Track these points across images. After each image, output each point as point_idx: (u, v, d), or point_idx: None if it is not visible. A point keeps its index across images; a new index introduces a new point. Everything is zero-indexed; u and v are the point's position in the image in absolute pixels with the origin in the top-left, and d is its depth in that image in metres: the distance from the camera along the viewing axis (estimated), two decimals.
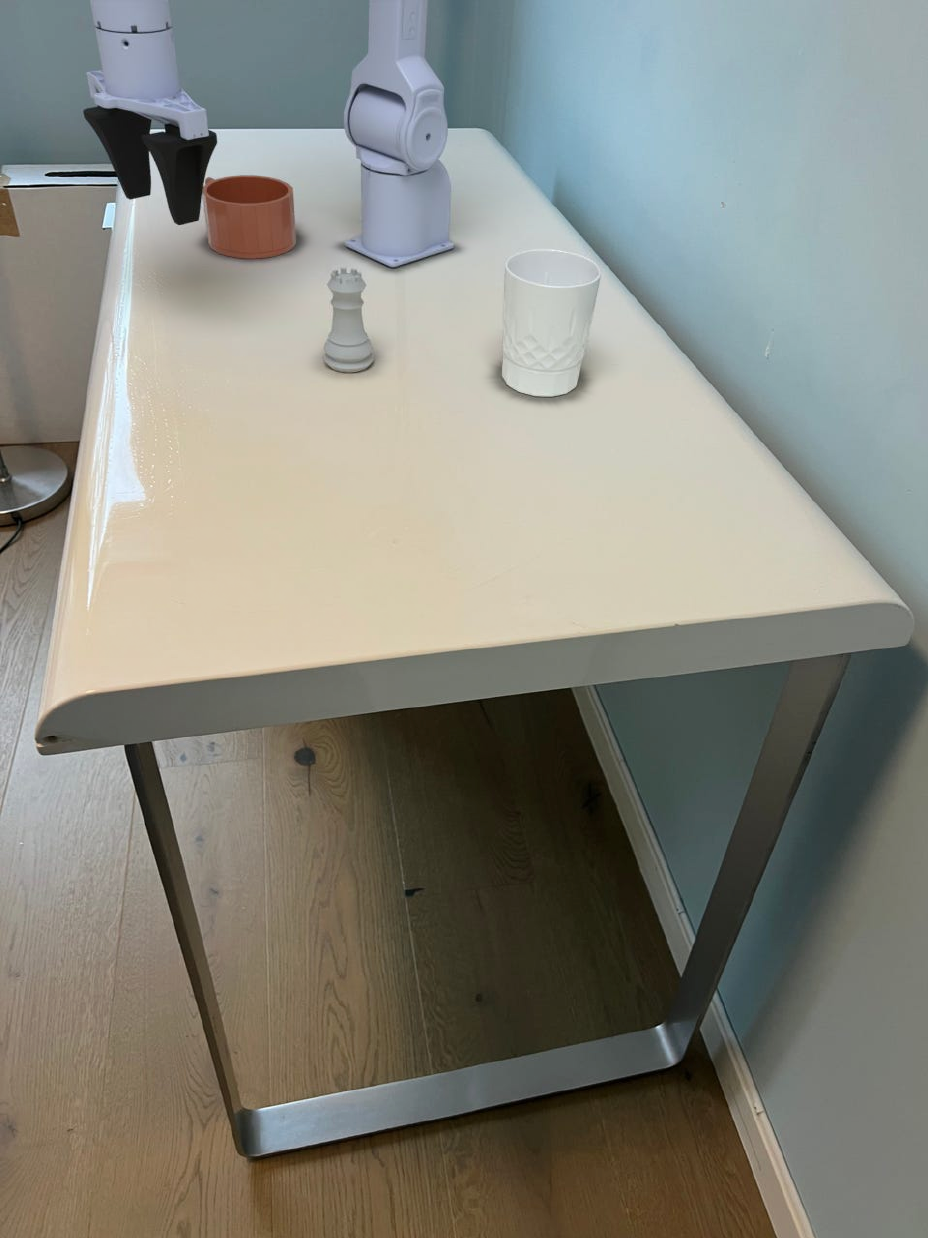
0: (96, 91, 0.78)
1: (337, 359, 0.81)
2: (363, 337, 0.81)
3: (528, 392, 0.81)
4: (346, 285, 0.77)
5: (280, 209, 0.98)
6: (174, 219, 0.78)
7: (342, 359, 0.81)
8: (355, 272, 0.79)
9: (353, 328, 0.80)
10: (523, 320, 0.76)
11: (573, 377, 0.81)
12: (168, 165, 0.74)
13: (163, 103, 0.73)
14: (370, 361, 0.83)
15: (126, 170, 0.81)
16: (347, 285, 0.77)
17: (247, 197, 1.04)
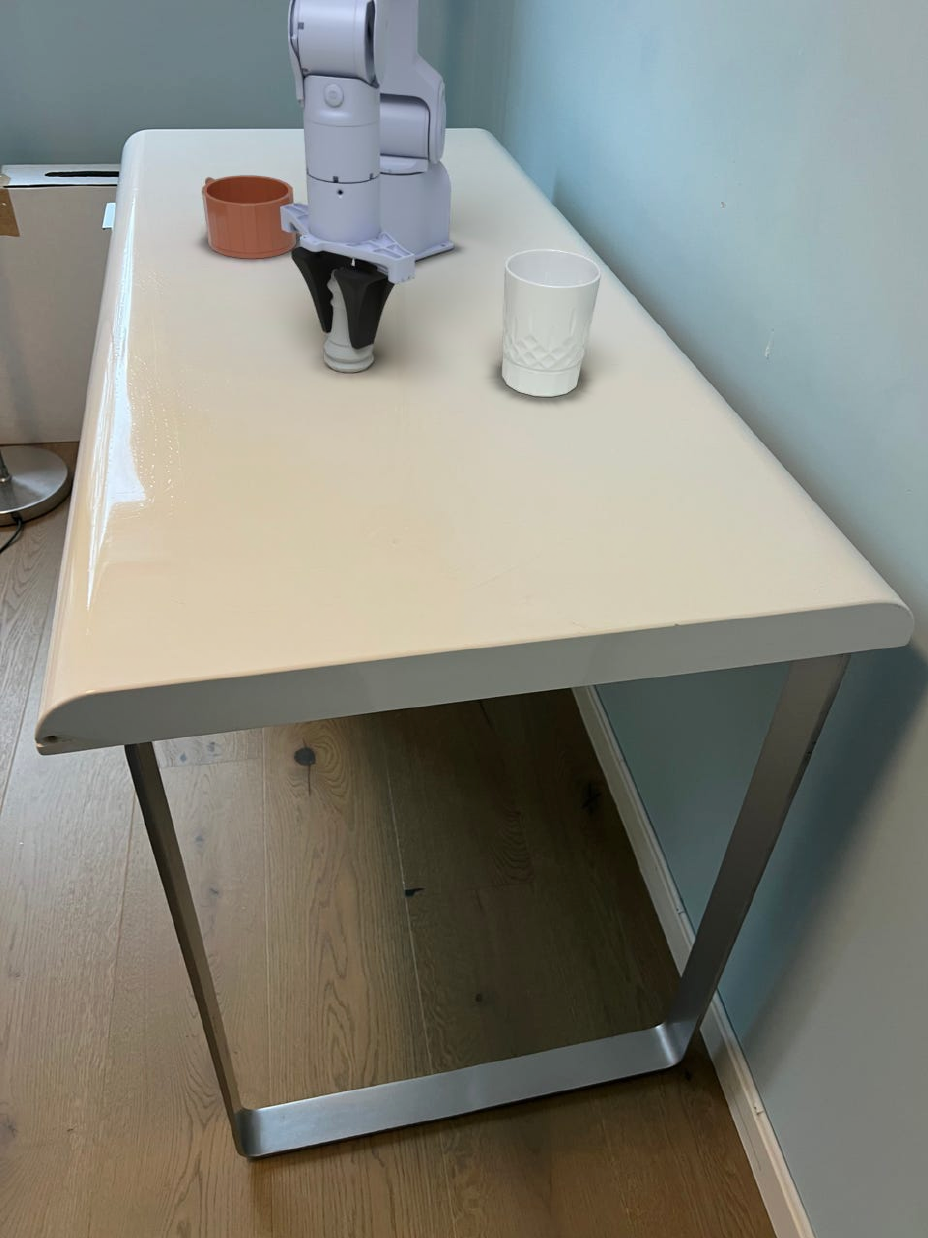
0: (289, 225, 0.79)
1: (337, 359, 0.81)
2: None
3: (528, 392, 0.81)
4: None
5: None
6: (352, 344, 0.80)
7: (342, 359, 0.81)
8: None
9: None
10: (523, 320, 0.76)
11: (573, 377, 0.81)
12: (357, 298, 0.75)
13: (368, 245, 0.74)
14: (370, 361, 0.83)
15: (326, 306, 0.81)
16: None
17: (247, 197, 1.04)
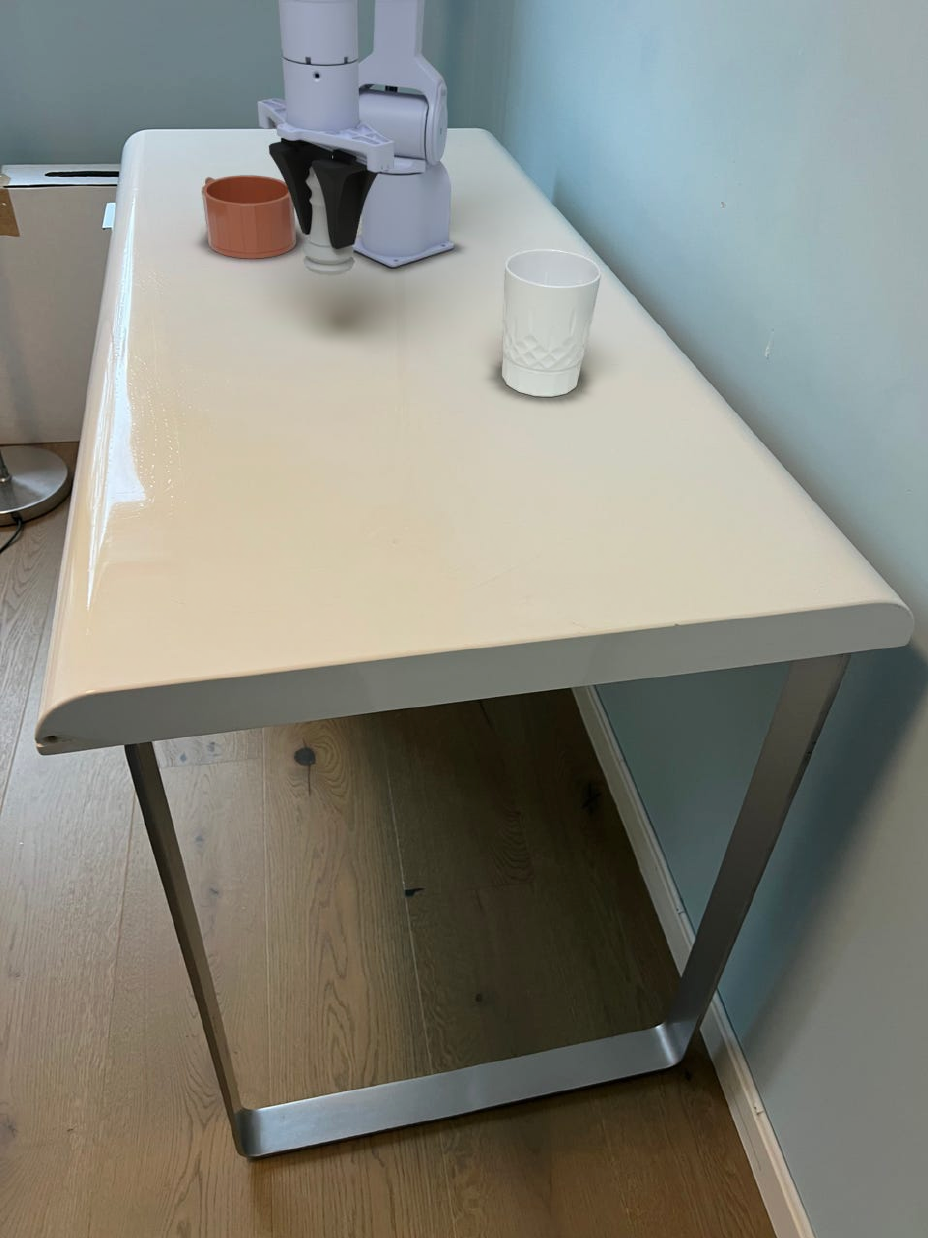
0: (267, 120, 0.77)
1: (317, 261, 0.80)
2: None
3: (528, 392, 0.81)
4: None
5: (280, 209, 0.98)
6: (332, 243, 0.78)
7: (322, 261, 0.79)
8: None
9: None
10: (523, 320, 0.76)
11: (573, 377, 0.81)
12: (336, 191, 0.74)
13: (347, 135, 0.72)
14: (351, 264, 0.81)
15: (306, 205, 0.79)
16: None
17: (247, 197, 1.04)
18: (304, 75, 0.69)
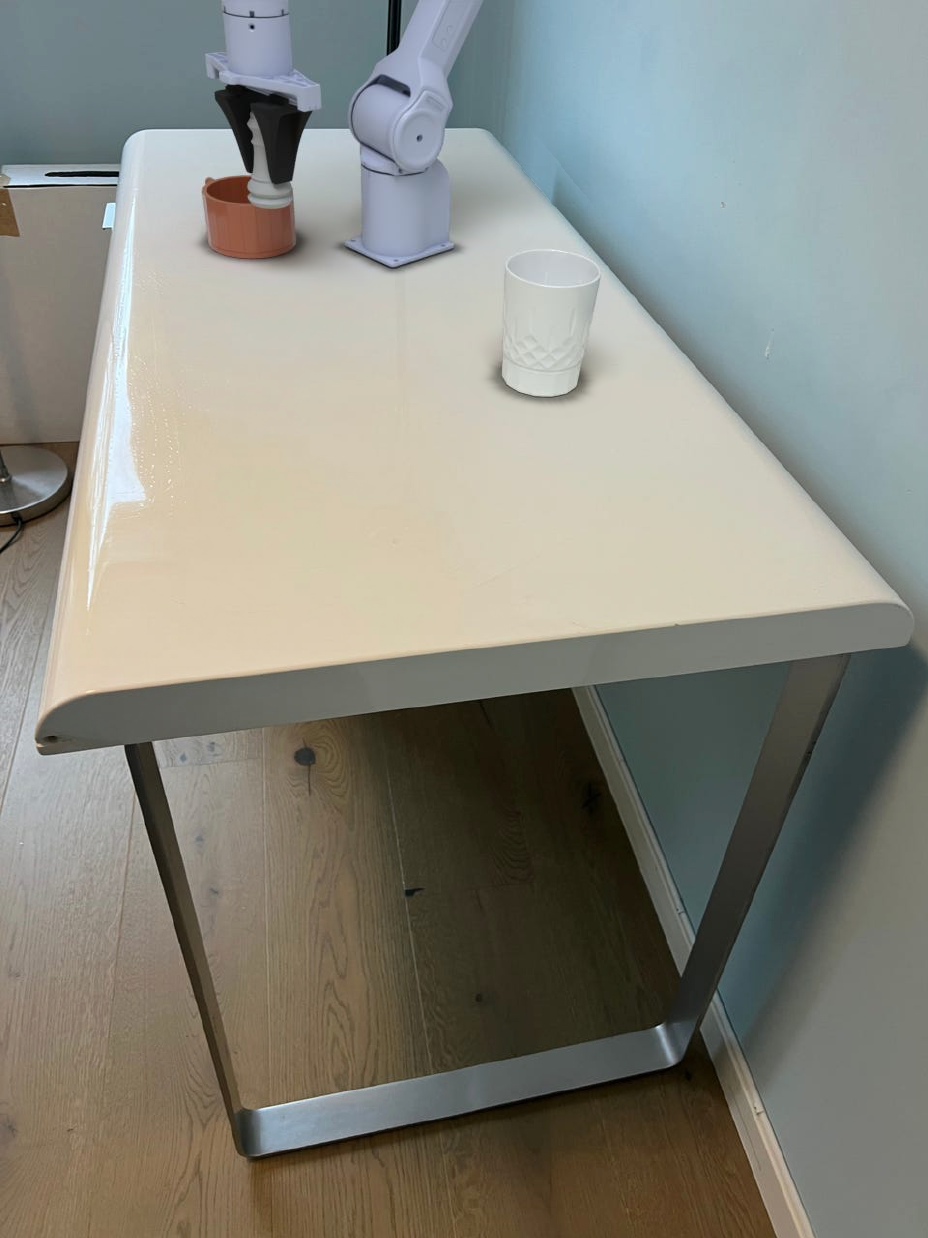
0: (213, 71, 0.88)
1: (259, 195, 0.90)
2: None
3: (528, 392, 0.81)
4: None
5: (280, 209, 0.98)
6: (272, 179, 0.89)
7: (263, 195, 0.90)
8: None
9: None
10: (523, 320, 0.76)
11: (573, 377, 0.81)
12: (272, 130, 0.85)
13: (280, 80, 0.83)
14: (289, 199, 0.92)
15: (249, 146, 0.90)
16: None
17: (247, 197, 1.04)
18: (241, 26, 0.80)
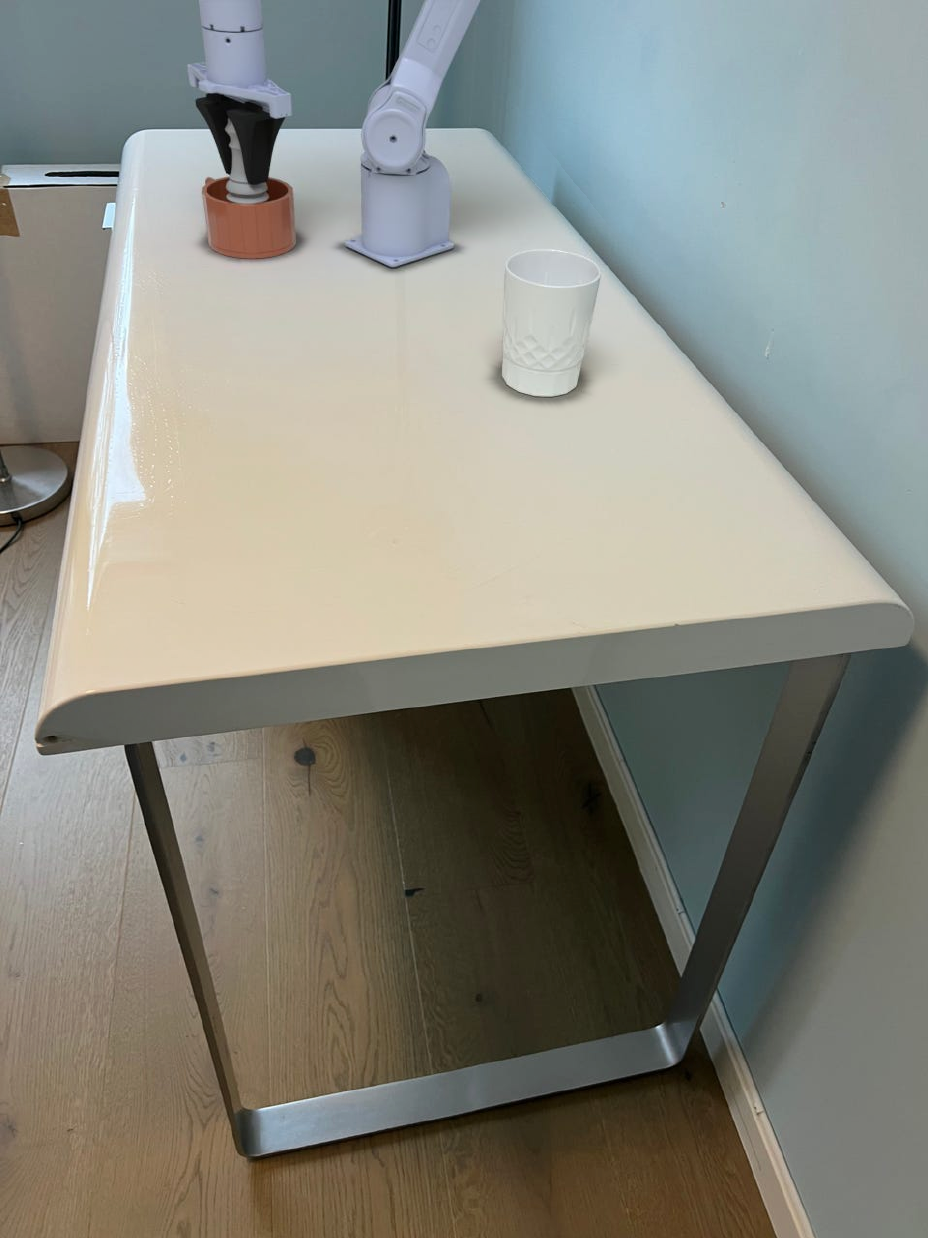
0: (195, 80, 0.96)
1: (236, 195, 0.98)
2: None
3: (528, 392, 0.81)
4: None
5: (280, 209, 0.98)
6: (248, 180, 0.96)
7: (240, 195, 0.98)
8: None
9: None
10: (523, 320, 0.76)
11: (573, 377, 0.81)
12: (247, 135, 0.92)
13: (255, 89, 0.91)
14: (265, 199, 0.99)
15: (227, 150, 0.97)
16: None
17: None
18: (218, 40, 0.88)
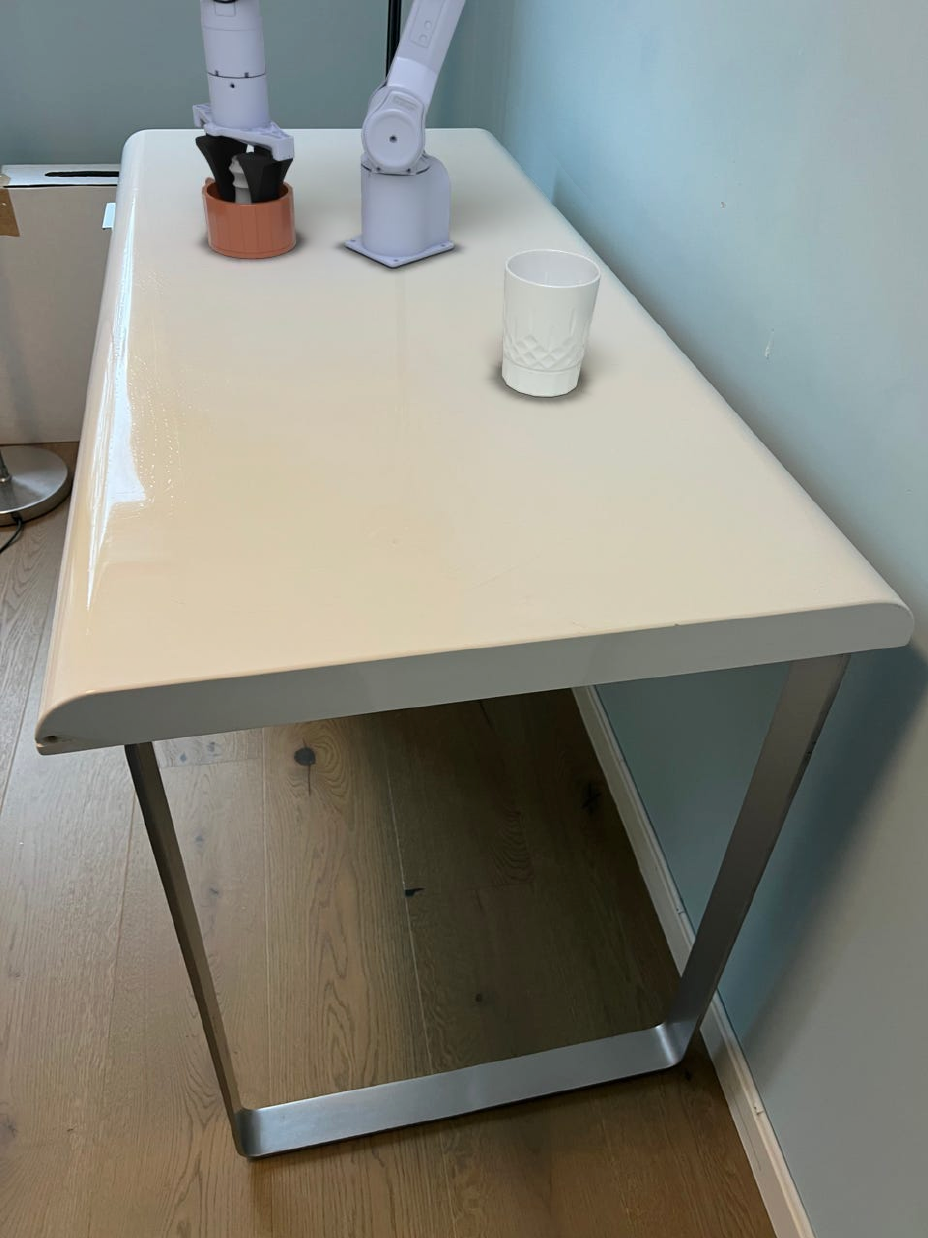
0: (200, 120, 0.98)
1: None
2: None
3: (528, 392, 0.81)
4: None
5: (280, 209, 0.98)
6: None
7: None
8: None
9: None
10: (523, 320, 0.76)
11: (573, 377, 0.81)
12: (256, 178, 0.94)
13: (258, 131, 0.93)
14: None
15: (226, 186, 1.00)
16: None
17: None
18: (222, 85, 0.90)
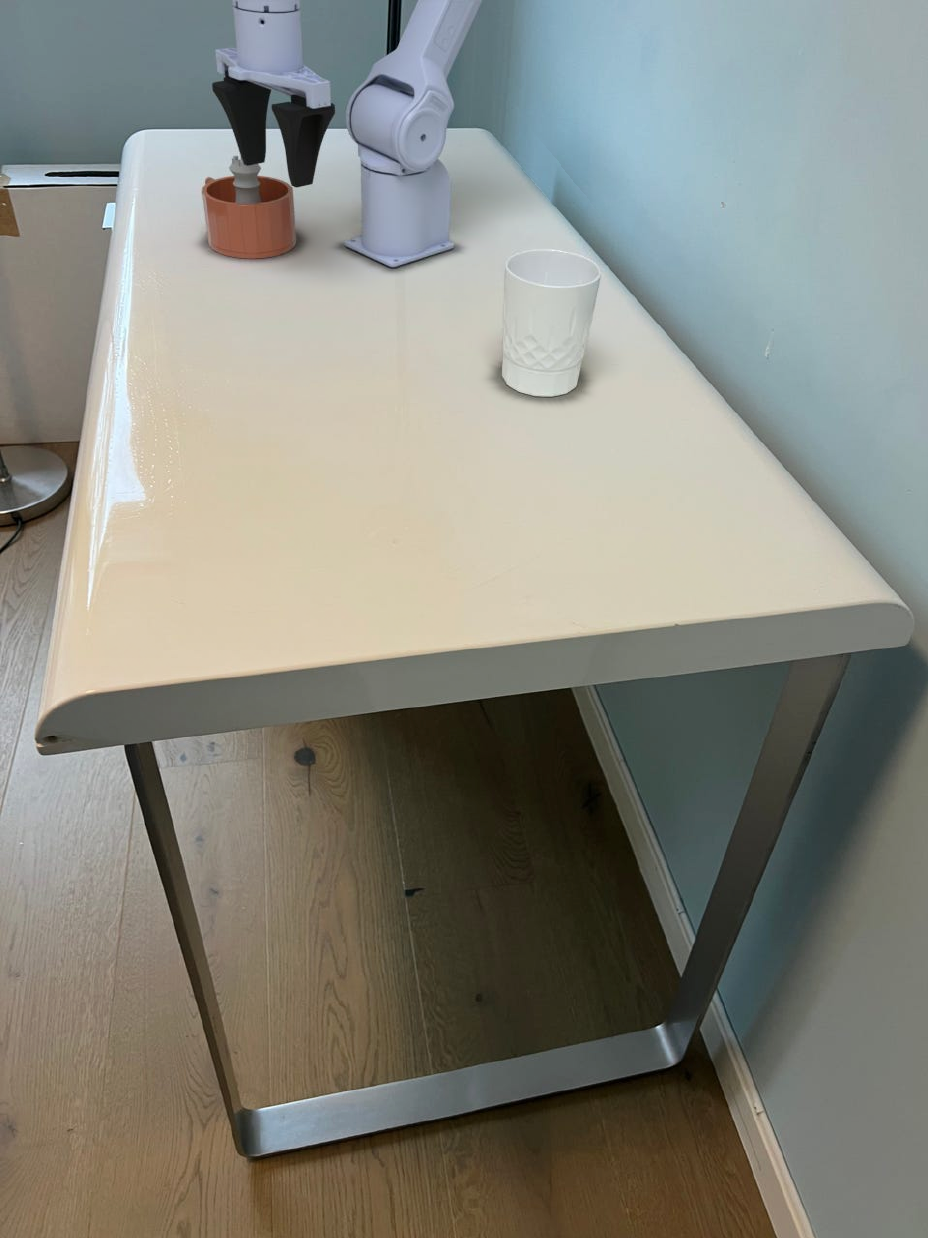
0: (223, 67, 0.87)
1: None
2: None
3: (528, 392, 0.81)
4: (243, 167, 0.96)
5: (280, 209, 0.98)
6: (292, 182, 0.87)
7: None
8: None
9: None
10: (523, 320, 0.76)
11: (573, 377, 0.81)
12: (293, 131, 0.83)
13: (290, 76, 0.82)
14: None
15: (246, 138, 0.90)
16: (244, 166, 0.96)
17: None
18: (251, 21, 0.79)
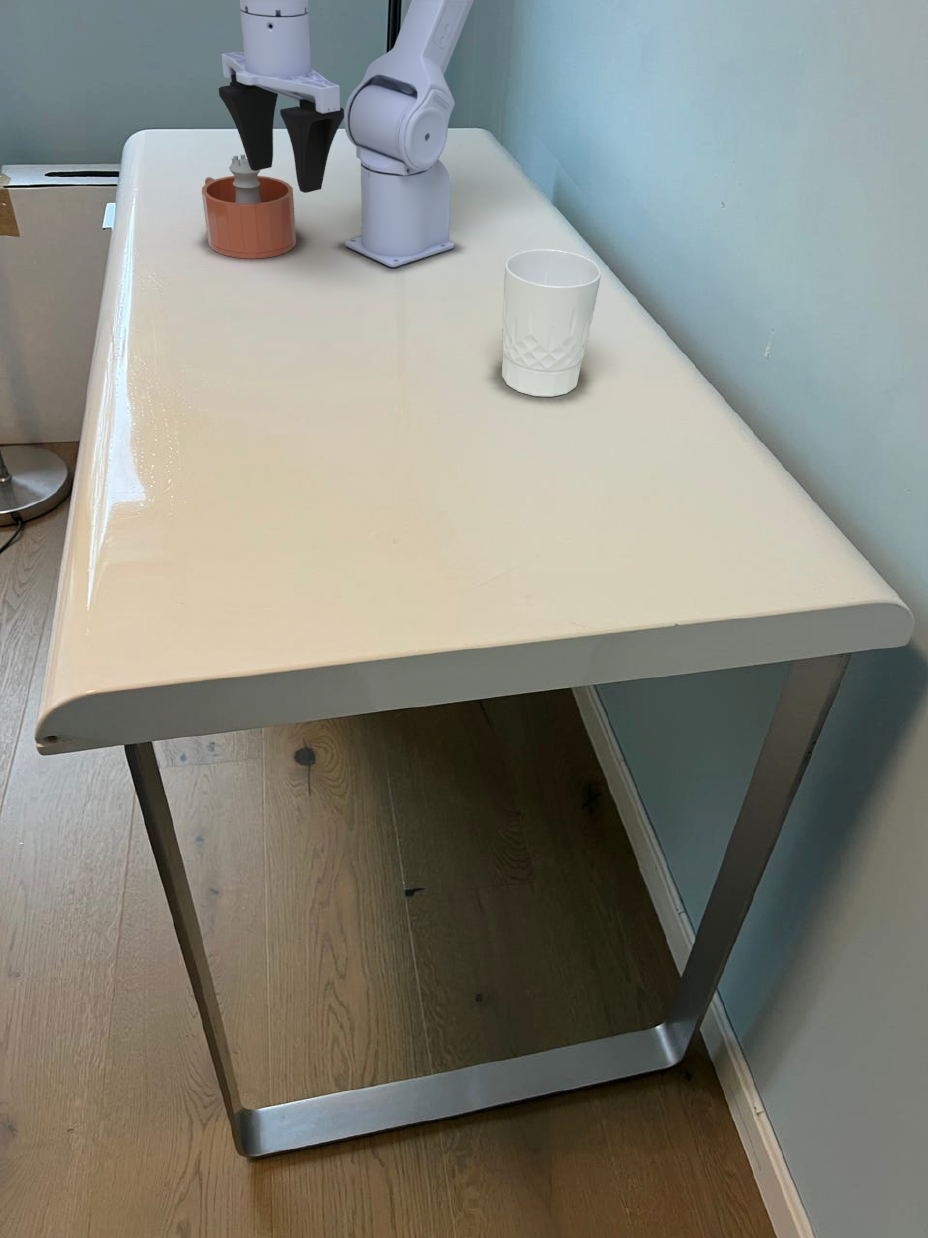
0: (229, 71, 0.86)
1: None
2: None
3: (528, 392, 0.81)
4: (243, 167, 0.96)
5: (280, 209, 0.98)
6: (300, 187, 0.86)
7: None
8: None
9: None
10: (523, 320, 0.76)
11: (573, 377, 0.81)
12: (302, 137, 0.82)
13: (298, 80, 0.81)
14: None
15: (253, 143, 0.89)
16: (244, 166, 0.96)
17: None
18: (259, 25, 0.78)
